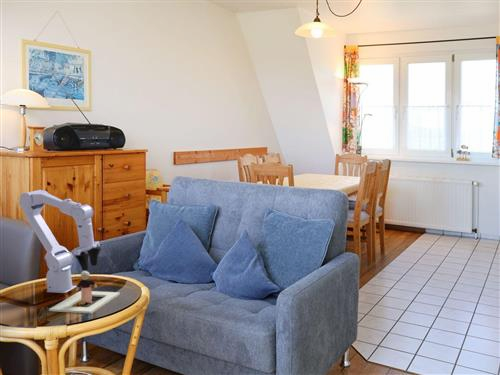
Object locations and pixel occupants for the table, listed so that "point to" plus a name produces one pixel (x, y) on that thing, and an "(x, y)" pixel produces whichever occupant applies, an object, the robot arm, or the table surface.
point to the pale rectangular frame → (67, 304)
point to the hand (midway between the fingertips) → (89, 267)
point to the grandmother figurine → (86, 288)
